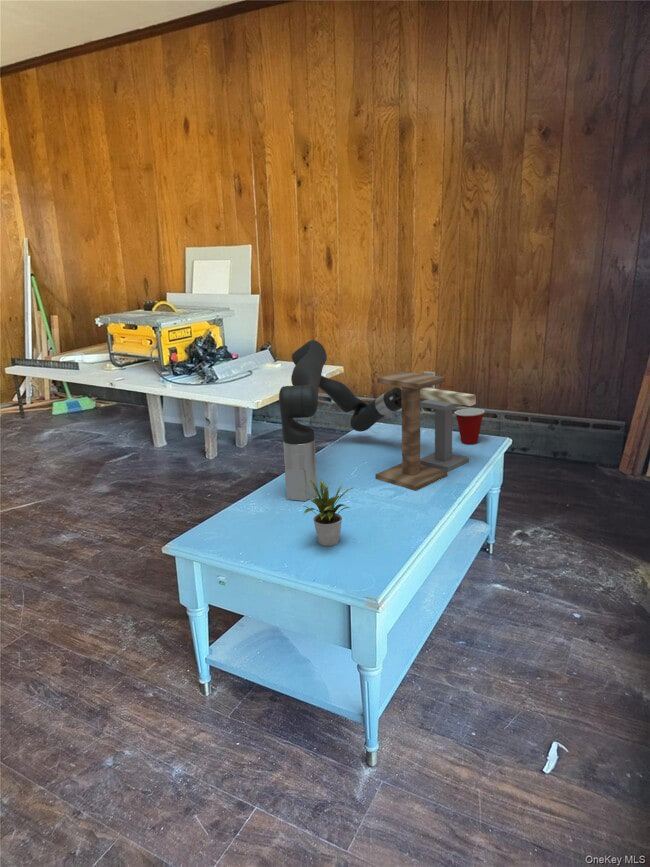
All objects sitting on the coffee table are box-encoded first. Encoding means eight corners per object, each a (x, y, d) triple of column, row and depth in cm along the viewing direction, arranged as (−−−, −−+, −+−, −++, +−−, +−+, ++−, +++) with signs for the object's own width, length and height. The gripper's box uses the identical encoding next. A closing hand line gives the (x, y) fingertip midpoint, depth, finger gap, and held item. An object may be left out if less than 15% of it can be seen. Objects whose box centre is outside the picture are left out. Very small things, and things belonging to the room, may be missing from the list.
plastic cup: (466, 436, 227) (466, 405, 223) (490, 441, 219) (491, 410, 215) (447, 442, 220) (448, 411, 217) (471, 448, 212) (472, 416, 209)
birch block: (475, 404, 187) (475, 394, 186) (470, 406, 185) (470, 396, 184) (414, 394, 204) (414, 385, 203) (408, 395, 202) (408, 387, 201)
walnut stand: (447, 475, 188) (448, 375, 179) (415, 490, 178) (415, 385, 168) (407, 465, 199) (406, 370, 190) (375, 478, 189) (372, 379, 180)
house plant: (284, 541, 150) (279, 480, 145) (323, 523, 159) (320, 465, 155) (323, 559, 140) (320, 495, 136) (363, 539, 149) (361, 478, 145)
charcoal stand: (468, 462, 199) (470, 399, 193) (447, 471, 191) (448, 406, 185) (439, 454, 208) (439, 394, 201) (417, 463, 200) (417, 401, 194)
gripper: (373, 395, 206) (404, 377, 194) (399, 388, 215) (431, 370, 203) (381, 415, 205) (414, 398, 193) (407, 407, 214) (440, 390, 202)
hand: (423, 383), depth 198 cm, fingers open, 8 cm apart
